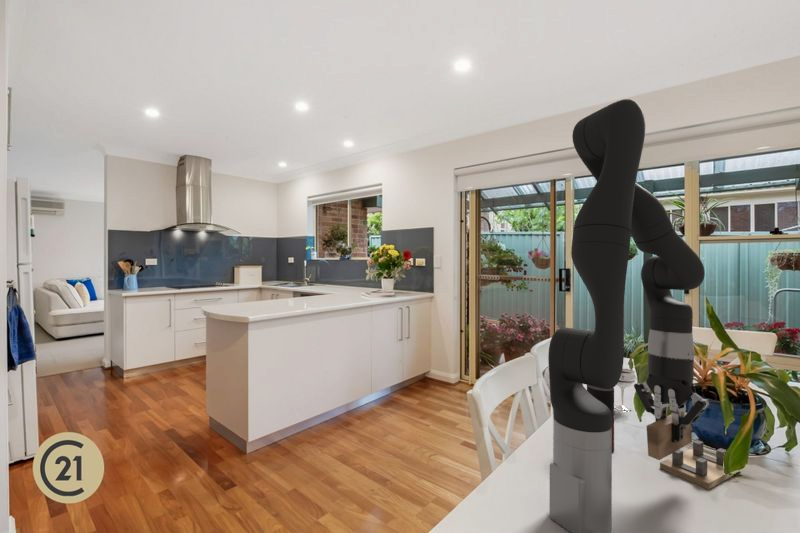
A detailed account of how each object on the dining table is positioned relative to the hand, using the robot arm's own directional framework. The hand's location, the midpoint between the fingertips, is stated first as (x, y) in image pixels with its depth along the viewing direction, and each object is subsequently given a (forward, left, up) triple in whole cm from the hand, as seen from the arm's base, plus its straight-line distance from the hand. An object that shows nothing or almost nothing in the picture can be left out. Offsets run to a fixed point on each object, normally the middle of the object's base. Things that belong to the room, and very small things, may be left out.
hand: (669, 439), depth 75 cm
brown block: (+1, 0, -2) cm, 2 cm away
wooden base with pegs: (+14, +1, -10) cm, 17 cm away
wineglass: (+35, +30, -10) cm, 47 cm away
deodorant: (+4, +17, -10) cm, 20 cm away
